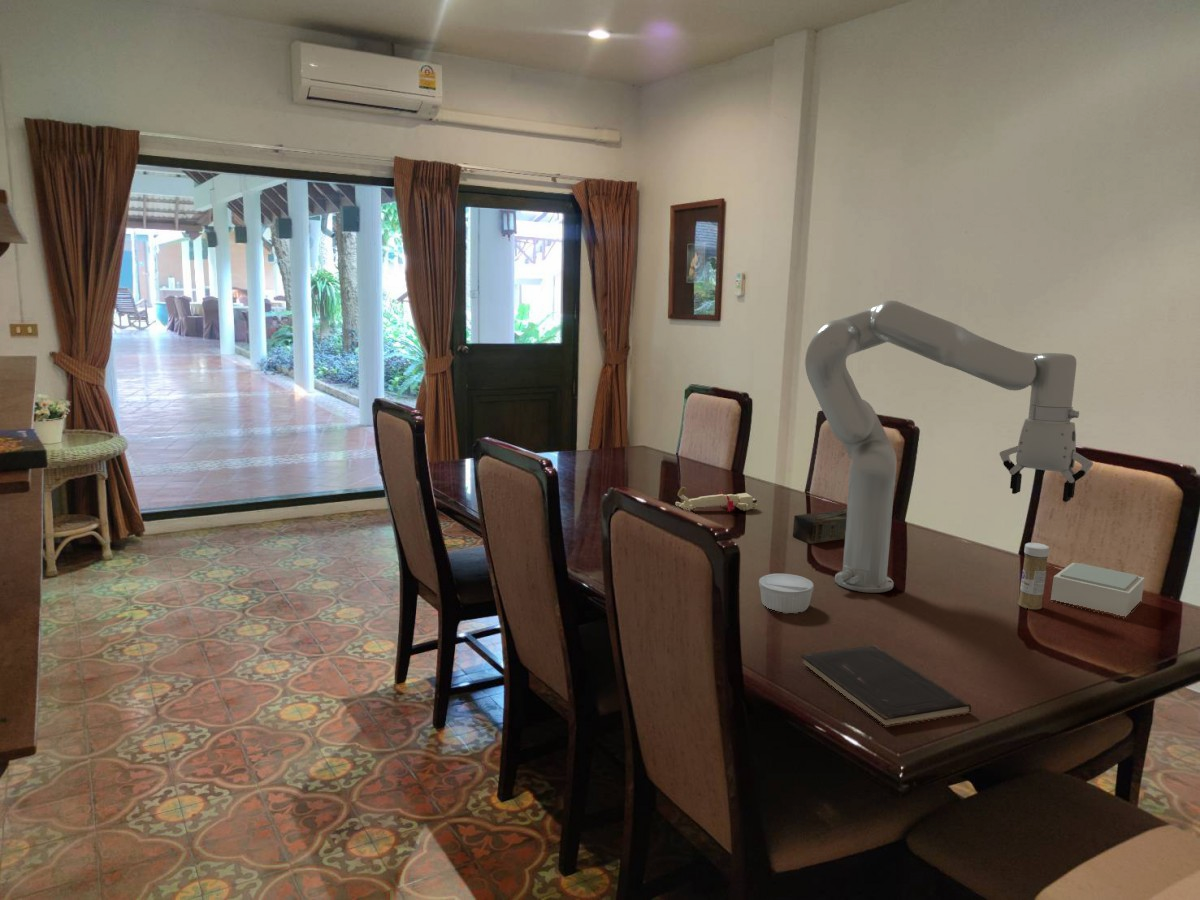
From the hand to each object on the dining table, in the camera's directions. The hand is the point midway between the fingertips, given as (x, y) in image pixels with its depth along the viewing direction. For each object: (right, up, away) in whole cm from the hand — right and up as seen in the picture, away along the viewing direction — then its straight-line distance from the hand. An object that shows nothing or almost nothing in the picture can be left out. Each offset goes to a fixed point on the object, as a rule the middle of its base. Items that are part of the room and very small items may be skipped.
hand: (1040, 496), depth 171 cm
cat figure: (-56, -9, +79) cm, 97 cm away
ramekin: (-53, -23, +1) cm, 57 cm away
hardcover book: (-45, -30, -35) cm, 64 cm away
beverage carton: (-29, -14, +53) cm, 62 cm away
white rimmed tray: (+16, -23, +7) cm, 29 cm away
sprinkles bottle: (0, -24, +4) cm, 24 cm away
